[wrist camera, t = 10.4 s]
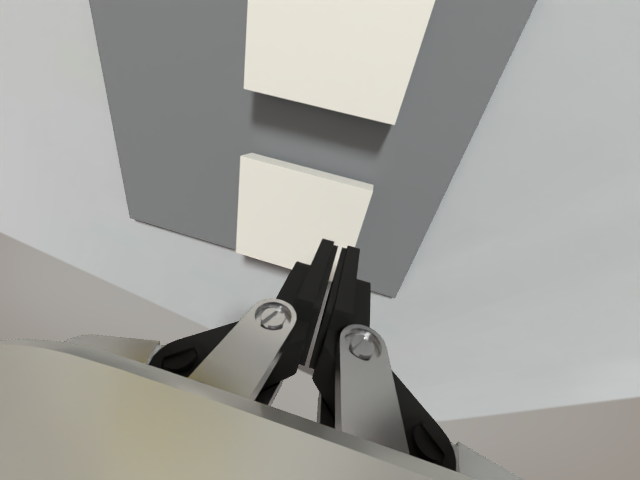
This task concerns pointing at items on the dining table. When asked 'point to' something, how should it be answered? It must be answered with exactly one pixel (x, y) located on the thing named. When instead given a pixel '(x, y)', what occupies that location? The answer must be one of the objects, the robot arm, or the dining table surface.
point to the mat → (290, 120)
